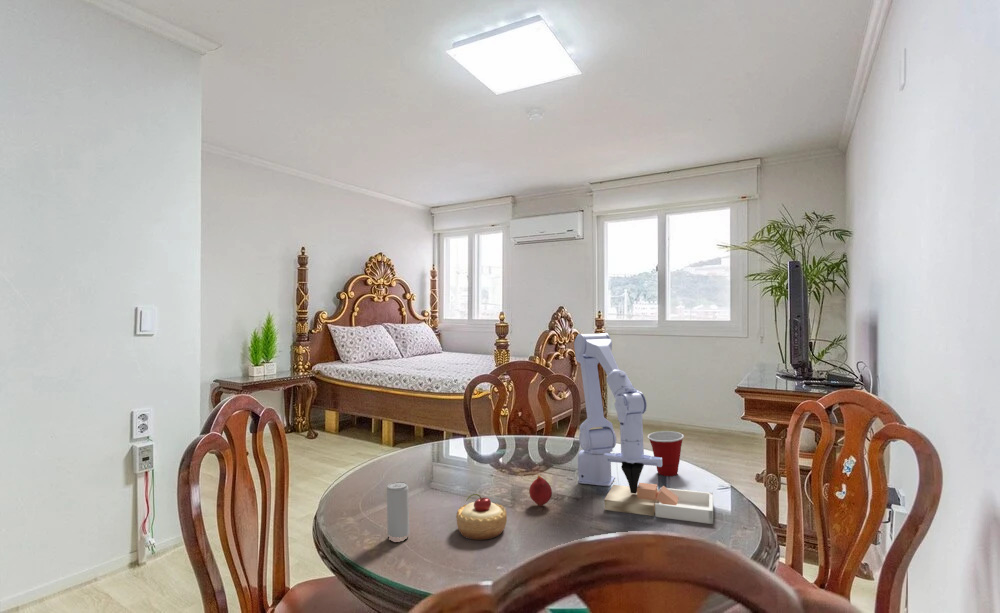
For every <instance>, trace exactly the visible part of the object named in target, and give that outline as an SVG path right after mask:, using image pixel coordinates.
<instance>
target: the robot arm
mask: <svg viewBox="0 0 1000 613" xmlns="http://www.w3.org/2000/svg"><path fill="white" fill-rule="evenodd" d="M573 343H574V345H573V346H574V355H575V358H576V359H575V360H576V362H578V363H579V364H580V370H581V379H582V387H583V394H584V395H583V396H584V403H585V410H586V411H585V412H586V419H585V420H583V422H582V423H581V424H580V425H579V435H578V441H579V445H580V448H581V450H579V452H578V456H577V469H578V470H577V472H578V475H577V476H578V479H577V480H578V481H577V484H582V485H583V484H584V485H595V486H602V487H612V486H611V485H612V484H613V483H614V481H615V479H616V477H615V476H612V463H619V464H621V470H622V472H623V474H624V476H625V478H626V480H627V484H628V486H629V487H630V491H631V493H636V492H637V487H638V485H639V481H640V477H641V474H642V471H643V469H644V466H655V467H656V466H657V467H662V458H661V457H654V455H653V456H652V455H647V454H645V452H644V448H645V446H644V429H643V428H644V426H643V415H644V414H645V413H646V411H647V407H648V405H647V400H646V396H645V395H644V393H643V392H642V391H640V390H638V389H637V388H635V387H634V386H633V384H632V382H631V380H630V379H629V378H630V377H628V374H627V372H625V371H624V370H620V368H619V366H618V363H617V362H616V359H615V356H614V354H613V352H612V349H613V340H612V338H611V336H610V335H609V333H608V332H602V333H578V334H577V336H576V337H575V339H574V342H573ZM599 364H600V366H601V367H602V369H603V370H604V373H605V374H606V375H607V376H606V384H607V385H608V387H609V390H610V391H611V393H612V395H613V397H614V398H615V401H614V407H615V411H616V414H617V421H618V422H619V430H620V433H619V435H620V452H615V453H613V450H614V449H615V447H616V445H617V436H616V432H615V430H614V426H613V423H612V422H611V421H610V420H608V419H607V418H606V417H605V415H604V406H603V398H602V392H601V390H602V389H601V385H600V377H599V376H600V375H599V369H598V365H599ZM657 467H656V468H657Z"/></svg>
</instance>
